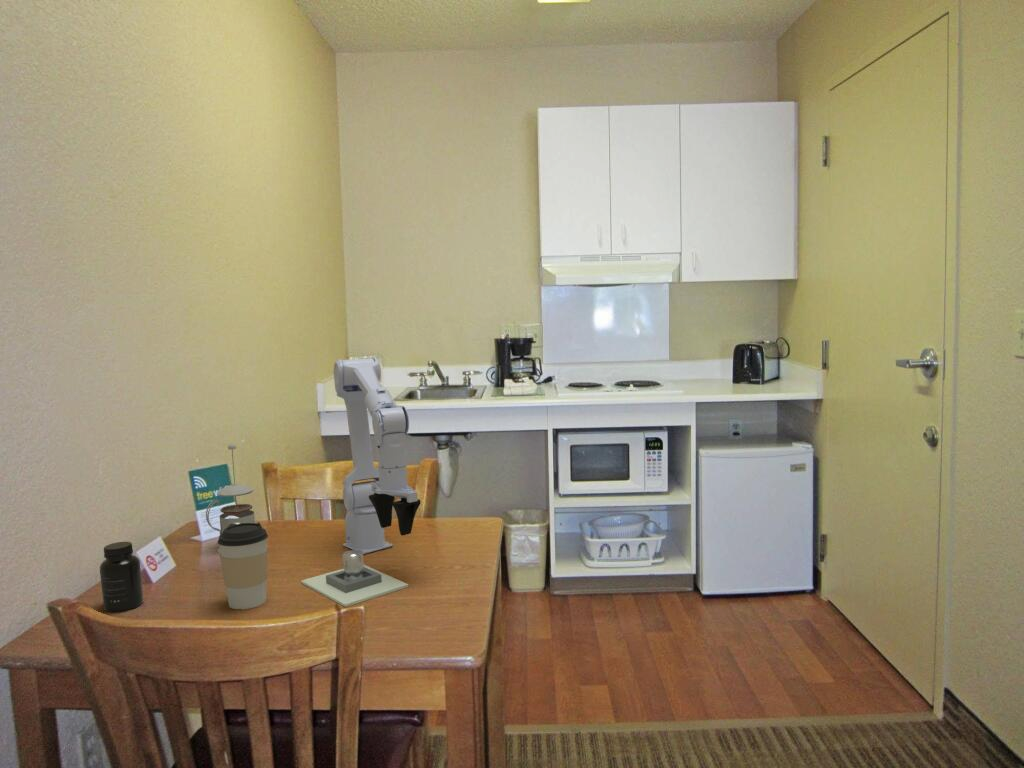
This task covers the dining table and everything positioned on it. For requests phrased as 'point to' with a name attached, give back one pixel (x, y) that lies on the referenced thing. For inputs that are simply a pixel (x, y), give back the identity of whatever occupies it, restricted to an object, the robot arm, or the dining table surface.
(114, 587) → the supplement bottle
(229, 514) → the french press
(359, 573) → the key peg
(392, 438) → the robot arm
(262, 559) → the coffee cup
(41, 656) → the dining table surface
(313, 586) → the socket
